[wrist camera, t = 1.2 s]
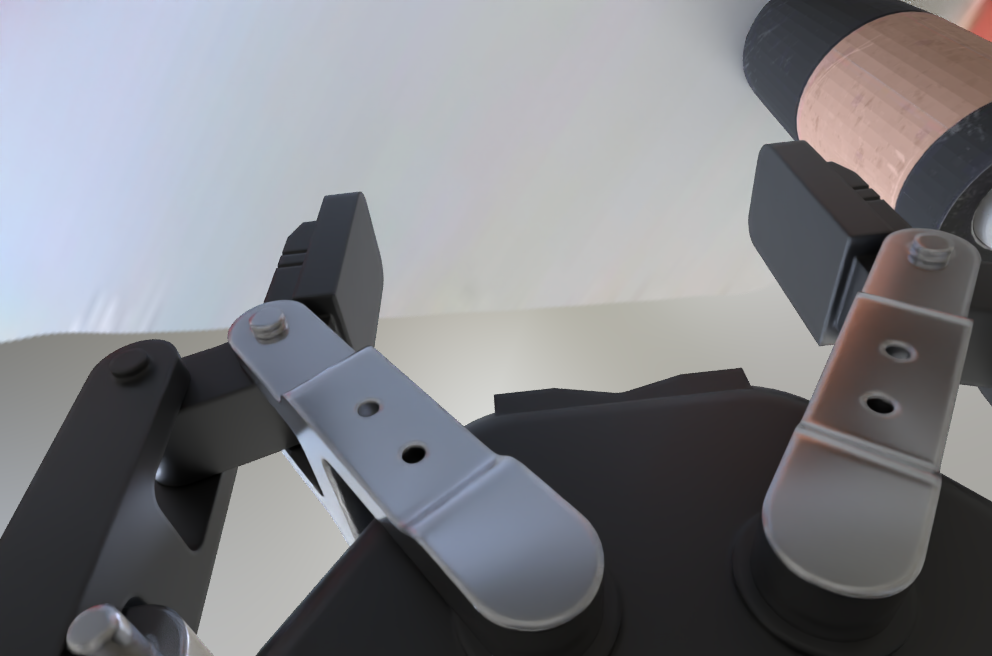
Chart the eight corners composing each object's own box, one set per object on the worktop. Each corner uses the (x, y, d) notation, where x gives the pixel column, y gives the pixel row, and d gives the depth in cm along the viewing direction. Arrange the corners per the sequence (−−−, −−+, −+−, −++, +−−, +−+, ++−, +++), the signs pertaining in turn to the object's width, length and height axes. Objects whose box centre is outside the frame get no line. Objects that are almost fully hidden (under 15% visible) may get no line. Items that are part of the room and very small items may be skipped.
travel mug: (861, -62, 34) (1190, 61, 19) (884, 67, 39) (1167, 253, 23) (720, 17, 37) (912, 186, 21) (756, 131, 41) (938, 339, 25)
